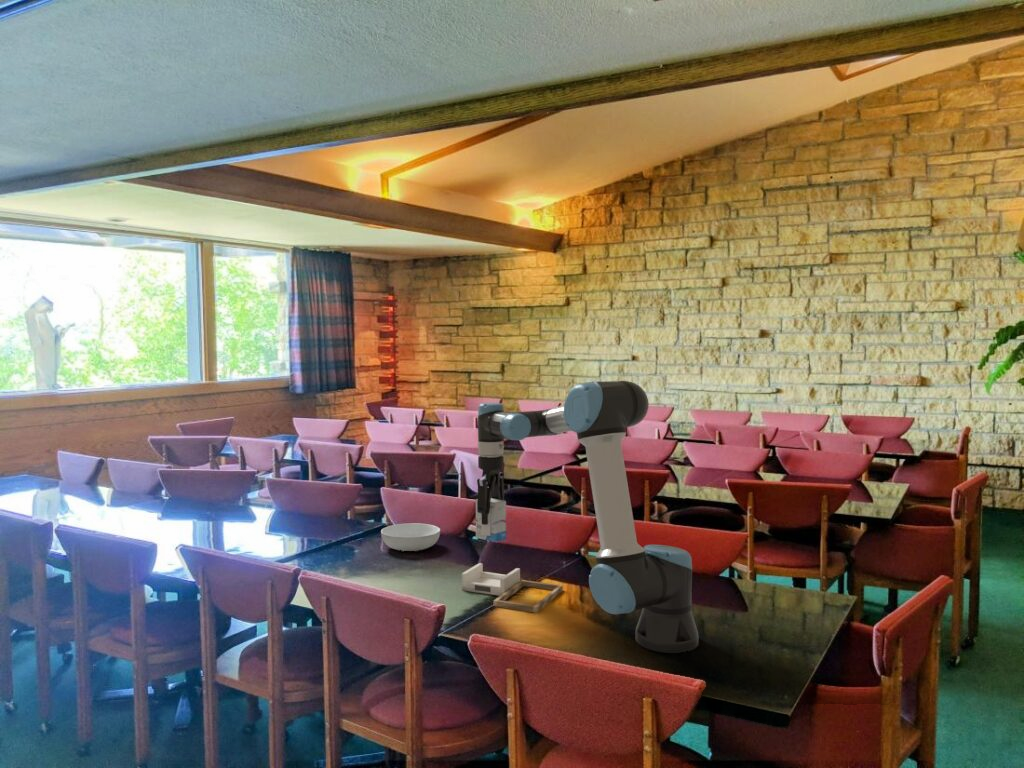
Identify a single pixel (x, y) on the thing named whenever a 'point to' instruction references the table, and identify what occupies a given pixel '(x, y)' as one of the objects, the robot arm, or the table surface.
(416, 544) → the serving bowl
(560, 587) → the tray frame
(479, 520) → the ink box
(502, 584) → the tray
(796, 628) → the table surface
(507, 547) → the table surface
